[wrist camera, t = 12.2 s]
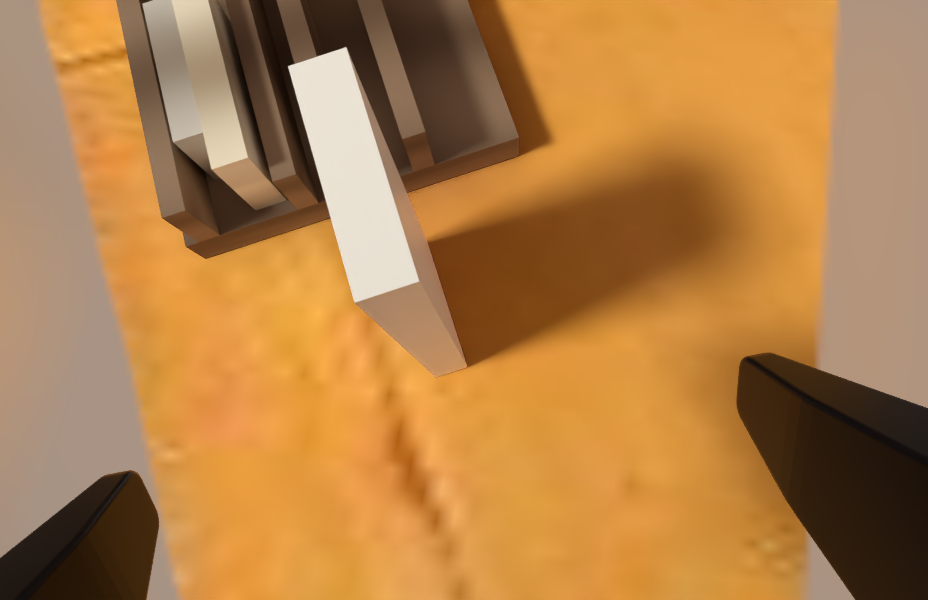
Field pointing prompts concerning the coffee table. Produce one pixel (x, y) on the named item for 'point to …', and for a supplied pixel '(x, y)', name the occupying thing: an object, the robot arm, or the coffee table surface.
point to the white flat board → (374, 214)
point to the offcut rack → (277, 110)
